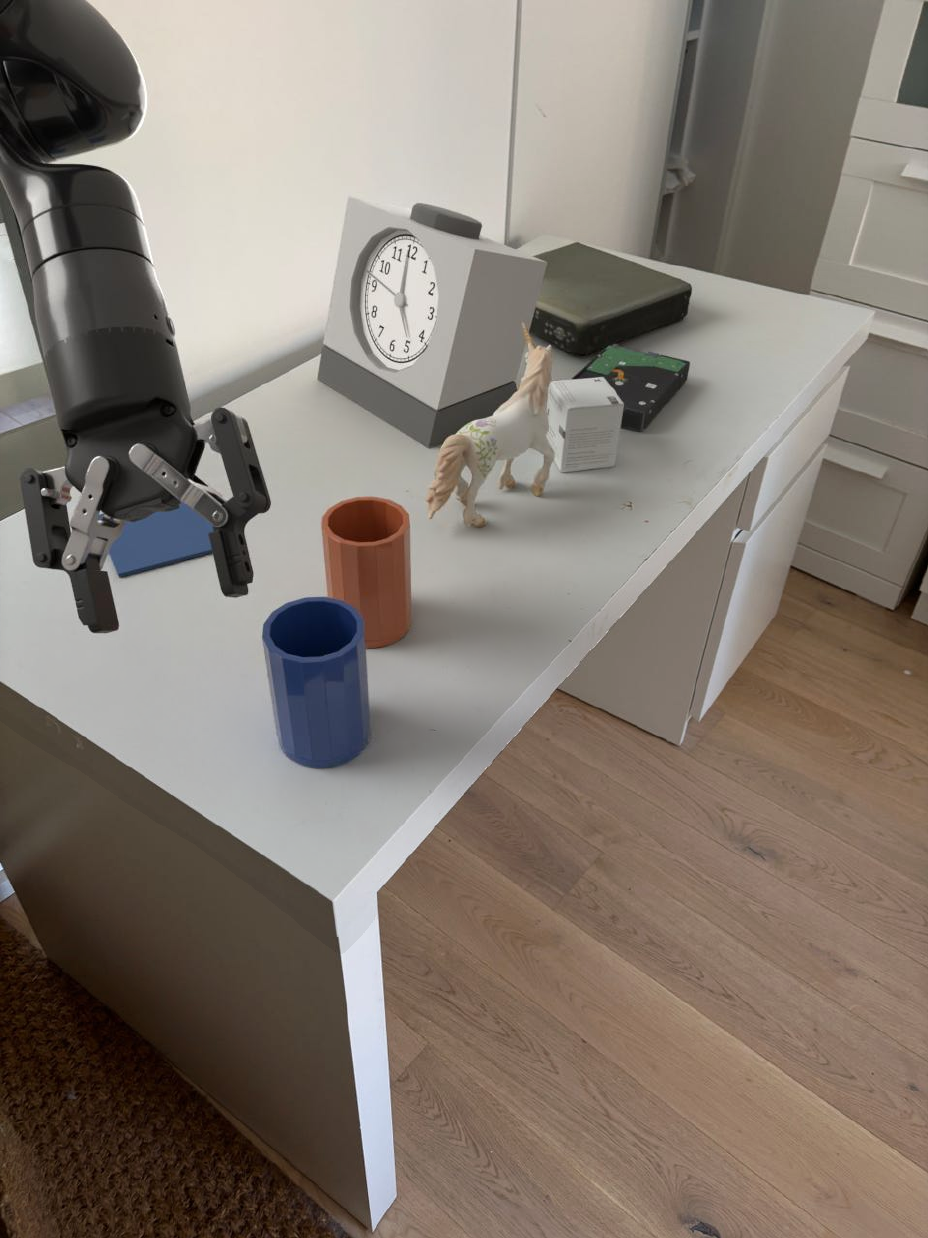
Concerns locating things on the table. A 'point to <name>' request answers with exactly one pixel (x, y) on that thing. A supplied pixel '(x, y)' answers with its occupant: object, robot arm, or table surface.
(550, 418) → the product carton
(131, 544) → the blue mat
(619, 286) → the network switch
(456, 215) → the alarm clock
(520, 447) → the unicorn figurine
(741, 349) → the table surface
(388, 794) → the table surface
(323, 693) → the blue cup
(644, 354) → the disk drive
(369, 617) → the terracotta cup
